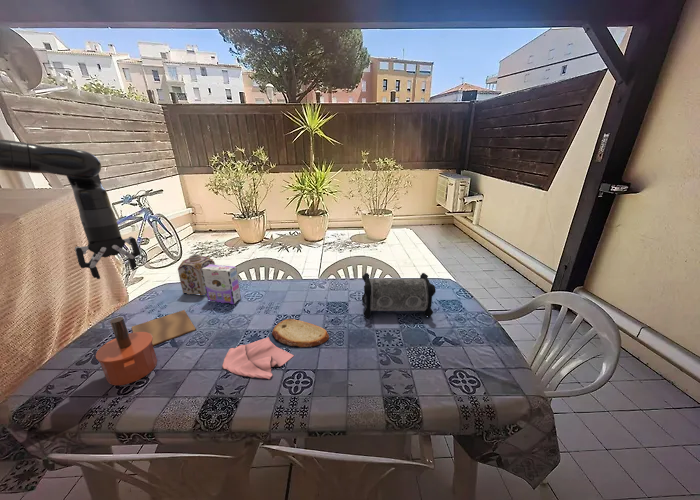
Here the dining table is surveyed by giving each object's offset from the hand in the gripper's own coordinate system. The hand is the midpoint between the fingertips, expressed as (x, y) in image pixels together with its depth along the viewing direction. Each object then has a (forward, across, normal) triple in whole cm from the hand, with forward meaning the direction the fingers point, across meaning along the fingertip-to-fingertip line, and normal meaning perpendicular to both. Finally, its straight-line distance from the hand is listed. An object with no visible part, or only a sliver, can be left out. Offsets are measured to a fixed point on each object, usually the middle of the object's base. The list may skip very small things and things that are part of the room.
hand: (116, 273), depth 84 cm
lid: (+20, +4, +11) cm, 23 cm away
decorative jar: (+28, -33, -27) cm, 51 cm away
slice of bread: (+28, -40, +38) cm, 62 cm away
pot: (+28, +4, +11) cm, 30 cm away
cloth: (+28, -23, +37) cm, 52 cm away
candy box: (+28, -35, -9) cm, 46 cm away
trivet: (+28, -9, -6) cm, 30 cm away
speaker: (+29, -78, +56) cm, 100 cm away
